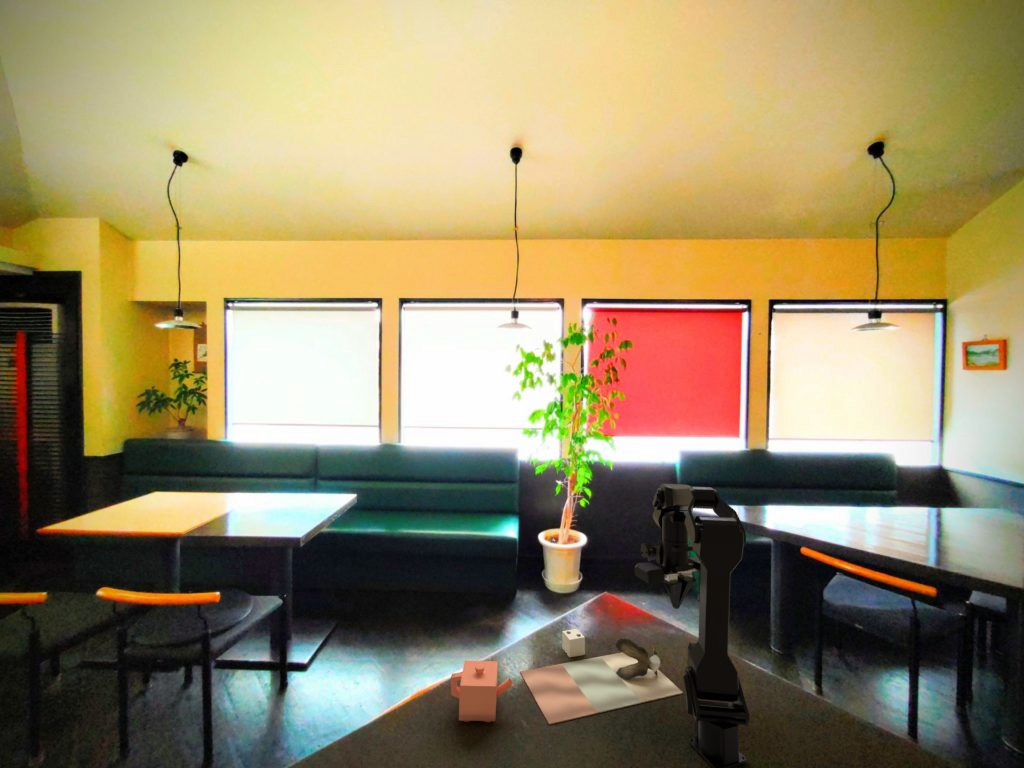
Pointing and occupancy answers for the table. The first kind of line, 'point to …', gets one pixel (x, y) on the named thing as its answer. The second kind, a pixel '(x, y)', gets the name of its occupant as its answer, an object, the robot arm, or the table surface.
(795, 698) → the table surface
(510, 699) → the table surface
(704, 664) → the robot arm
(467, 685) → the pink cube teapot
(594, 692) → the game mat
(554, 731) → the table surface
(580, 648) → the die
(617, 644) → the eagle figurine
